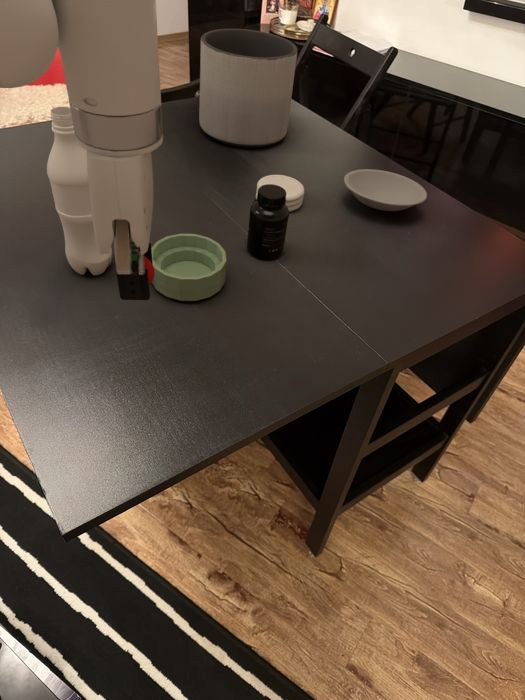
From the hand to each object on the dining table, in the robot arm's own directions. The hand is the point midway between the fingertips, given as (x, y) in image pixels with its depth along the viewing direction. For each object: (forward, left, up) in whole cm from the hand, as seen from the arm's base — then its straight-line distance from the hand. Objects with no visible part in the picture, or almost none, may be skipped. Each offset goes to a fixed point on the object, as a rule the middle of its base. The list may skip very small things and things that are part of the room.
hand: (137, 283), depth 55 cm
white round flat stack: (+25, +47, -16) cm, 56 cm away
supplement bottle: (+20, +29, -16) cm, 39 cm away
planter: (+20, +81, -16) cm, 85 cm away
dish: (+47, +46, -16) cm, 68 cm away
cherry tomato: (0, 0, 0) cm, 0 cm away
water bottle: (-10, +23, -16) cm, 30 cm away
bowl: (+6, +20, -16) cm, 26 cm away
